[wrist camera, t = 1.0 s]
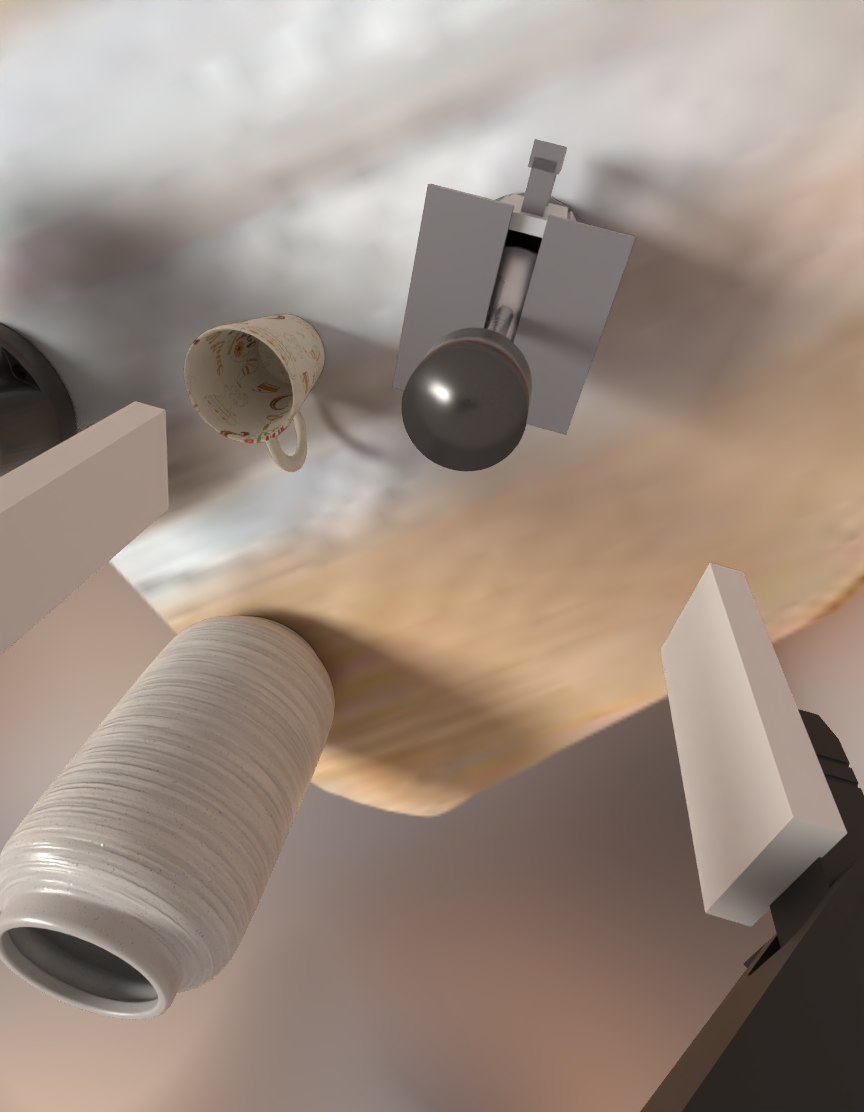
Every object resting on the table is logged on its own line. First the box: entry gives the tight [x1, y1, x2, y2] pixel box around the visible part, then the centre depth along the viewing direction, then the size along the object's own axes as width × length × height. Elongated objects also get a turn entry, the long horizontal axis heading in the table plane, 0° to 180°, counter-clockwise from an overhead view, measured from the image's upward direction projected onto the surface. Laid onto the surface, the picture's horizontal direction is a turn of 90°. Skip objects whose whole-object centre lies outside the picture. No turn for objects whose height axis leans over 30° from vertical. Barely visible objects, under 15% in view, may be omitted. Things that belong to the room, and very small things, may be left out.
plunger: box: [402, 246, 538, 471], centre depth 29 cm, size 7×7×17 cm
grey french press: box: [392, 139, 635, 435], centre depth 39 cm, size 11×14×15 cm
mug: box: [184, 314, 325, 472], centre depth 50 cm, size 8×13×10 cm, turn 15°
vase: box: [0, 616, 335, 1020], centre depth 59 cm, size 20×20×34 cm
